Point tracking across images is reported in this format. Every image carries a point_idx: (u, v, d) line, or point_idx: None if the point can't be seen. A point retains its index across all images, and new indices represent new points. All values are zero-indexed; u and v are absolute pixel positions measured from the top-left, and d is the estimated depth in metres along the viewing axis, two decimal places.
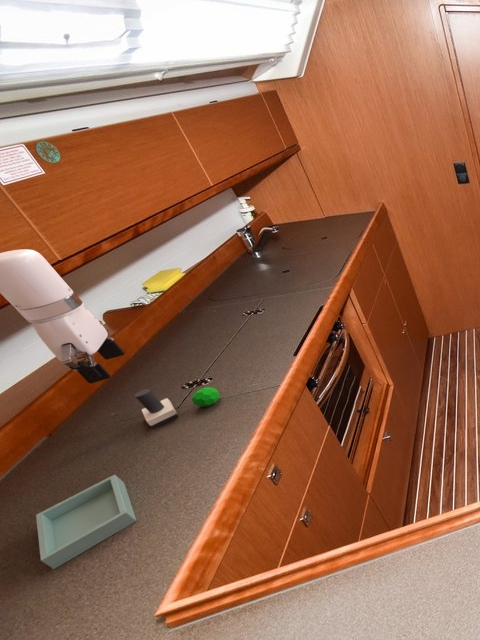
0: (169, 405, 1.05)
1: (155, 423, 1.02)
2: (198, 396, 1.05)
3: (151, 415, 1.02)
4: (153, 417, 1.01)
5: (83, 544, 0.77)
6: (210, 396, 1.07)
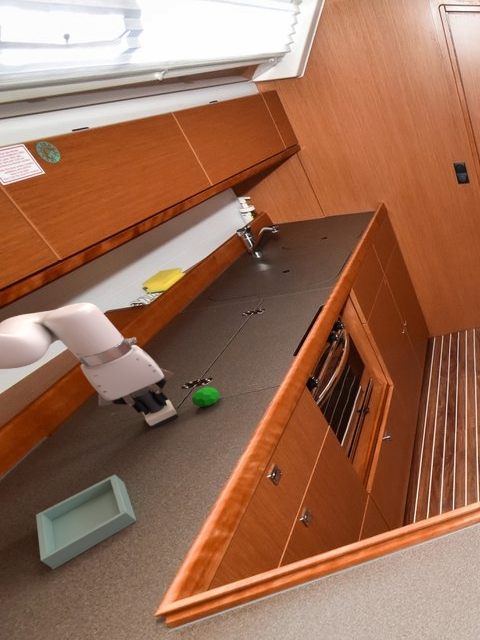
0: (169, 405, 1.05)
1: (155, 423, 1.02)
2: (198, 396, 1.05)
3: (151, 415, 1.02)
4: (153, 417, 1.01)
5: (83, 544, 0.77)
6: (210, 396, 1.07)
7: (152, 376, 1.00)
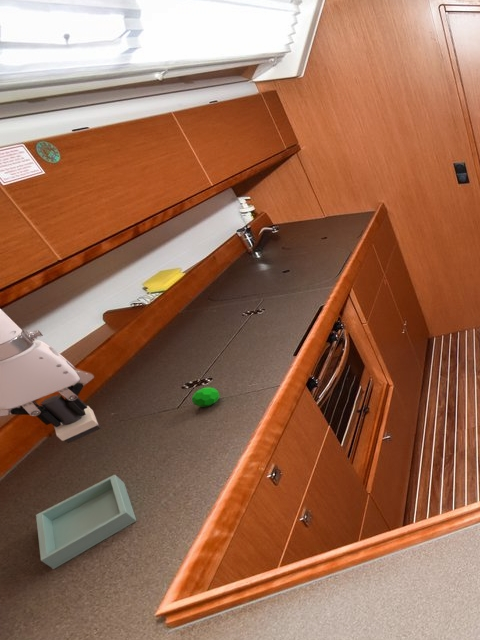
0: (89, 415, 0.85)
1: (68, 437, 0.82)
2: (198, 396, 1.05)
3: (64, 427, 0.82)
4: (66, 430, 0.82)
5: (83, 544, 0.77)
6: (210, 396, 1.07)
7: (63, 379, 0.80)
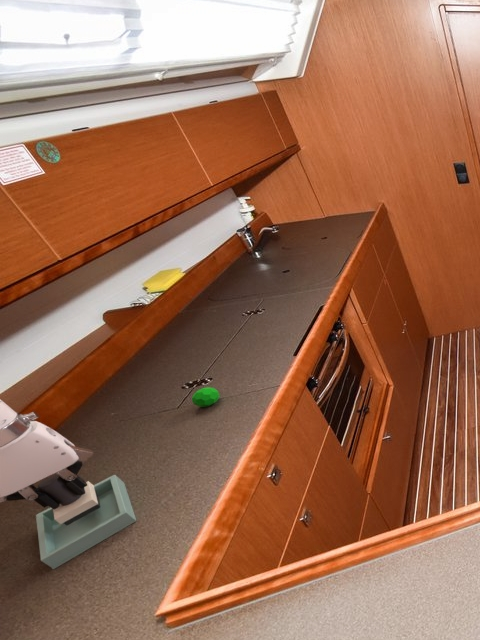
0: (88, 493, 0.81)
1: (67, 520, 0.78)
2: (198, 396, 1.05)
3: (63, 508, 0.79)
4: (64, 512, 0.78)
5: (83, 544, 0.77)
6: (210, 396, 1.07)
7: (60, 460, 0.76)
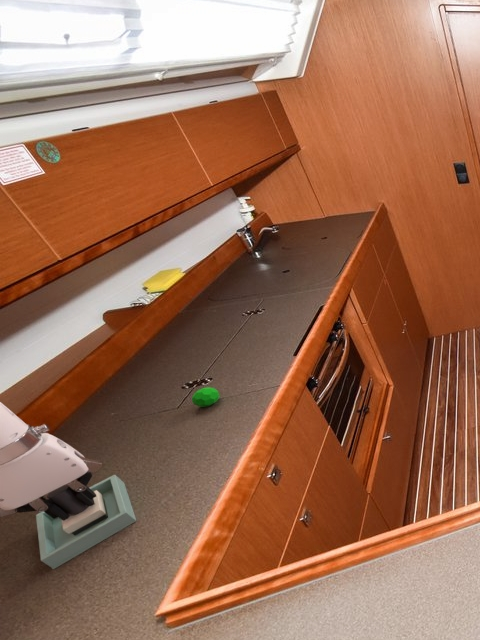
0: (97, 502, 0.82)
1: (75, 530, 0.79)
2: (198, 396, 1.05)
3: (71, 518, 0.79)
4: (72, 522, 0.78)
5: (83, 544, 0.77)
6: (210, 396, 1.07)
7: (71, 472, 0.77)
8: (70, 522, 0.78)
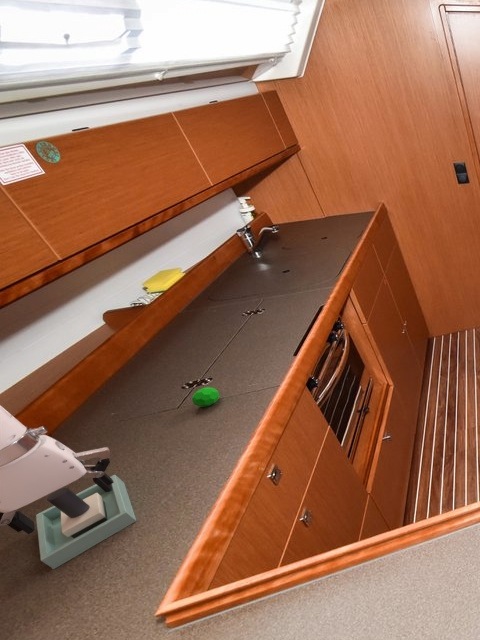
0: (96, 505, 0.81)
1: (74, 533, 0.78)
2: (198, 396, 1.05)
3: (71, 521, 0.79)
4: (72, 525, 0.78)
5: (83, 544, 0.77)
6: (210, 396, 1.07)
7: (69, 474, 0.76)
8: (69, 525, 0.78)
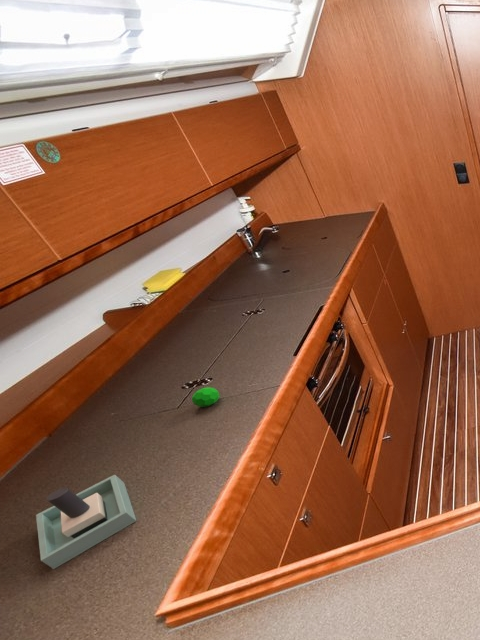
0: (96, 505, 0.81)
1: (74, 533, 0.78)
2: (198, 396, 1.05)
3: (71, 521, 0.79)
4: (72, 525, 0.78)
5: (83, 544, 0.77)
6: (210, 396, 1.07)
7: None
8: (69, 525, 0.78)
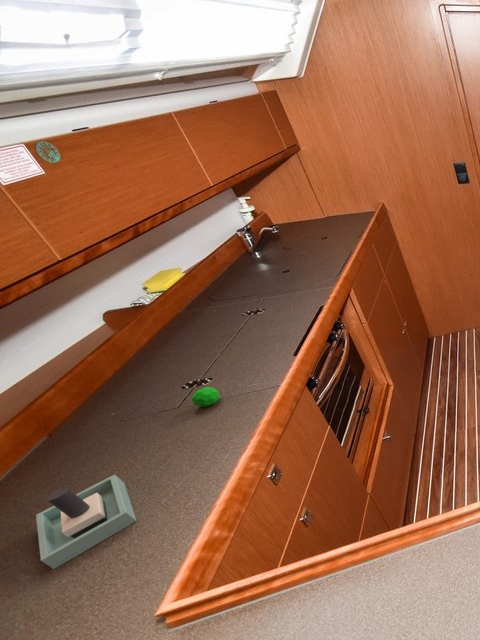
0: (96, 505, 0.81)
1: (74, 533, 0.78)
2: (198, 396, 1.05)
3: (71, 521, 0.79)
4: (72, 525, 0.78)
5: (83, 544, 0.77)
6: (210, 396, 1.07)
7: None
8: (69, 525, 0.78)
